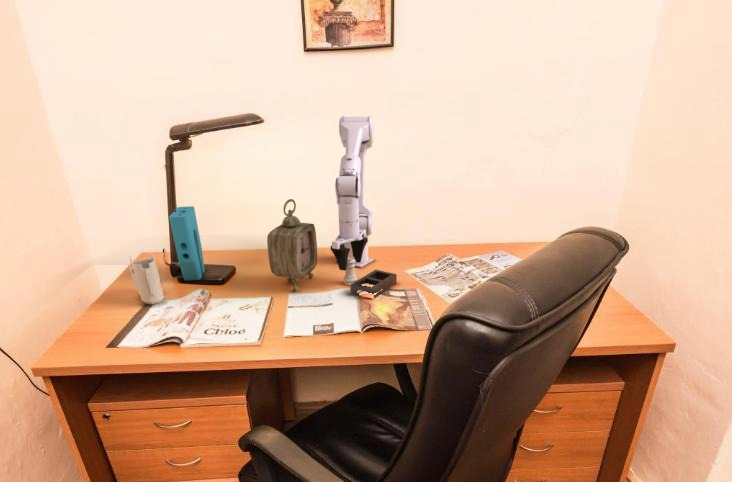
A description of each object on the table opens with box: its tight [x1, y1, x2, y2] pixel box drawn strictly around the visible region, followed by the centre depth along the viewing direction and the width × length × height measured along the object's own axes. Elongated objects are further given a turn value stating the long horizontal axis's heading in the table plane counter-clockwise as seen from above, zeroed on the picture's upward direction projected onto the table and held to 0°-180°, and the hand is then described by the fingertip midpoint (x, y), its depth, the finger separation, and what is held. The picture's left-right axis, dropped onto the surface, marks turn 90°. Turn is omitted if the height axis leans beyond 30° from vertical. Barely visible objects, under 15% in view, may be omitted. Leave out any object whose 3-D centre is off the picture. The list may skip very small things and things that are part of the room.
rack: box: [350, 269, 398, 299], centre depth 142 cm, size 14×7×3 cm, turn 148°
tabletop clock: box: [266, 198, 318, 293], centre depth 140 cm, size 14×9×25 cm, turn 161°
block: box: [168, 205, 205, 281], centre depth 148 cm, size 12×5×20 cm, turn 6°
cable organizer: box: [128, 252, 165, 305], centre depth 135 cm, size 7×12×12 cm, turn 29°
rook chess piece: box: [342, 256, 359, 286], centre depth 144 cm, size 4×4×8 cm
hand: (350, 265), depth 143 cm, fingers open, 7 cm apart
